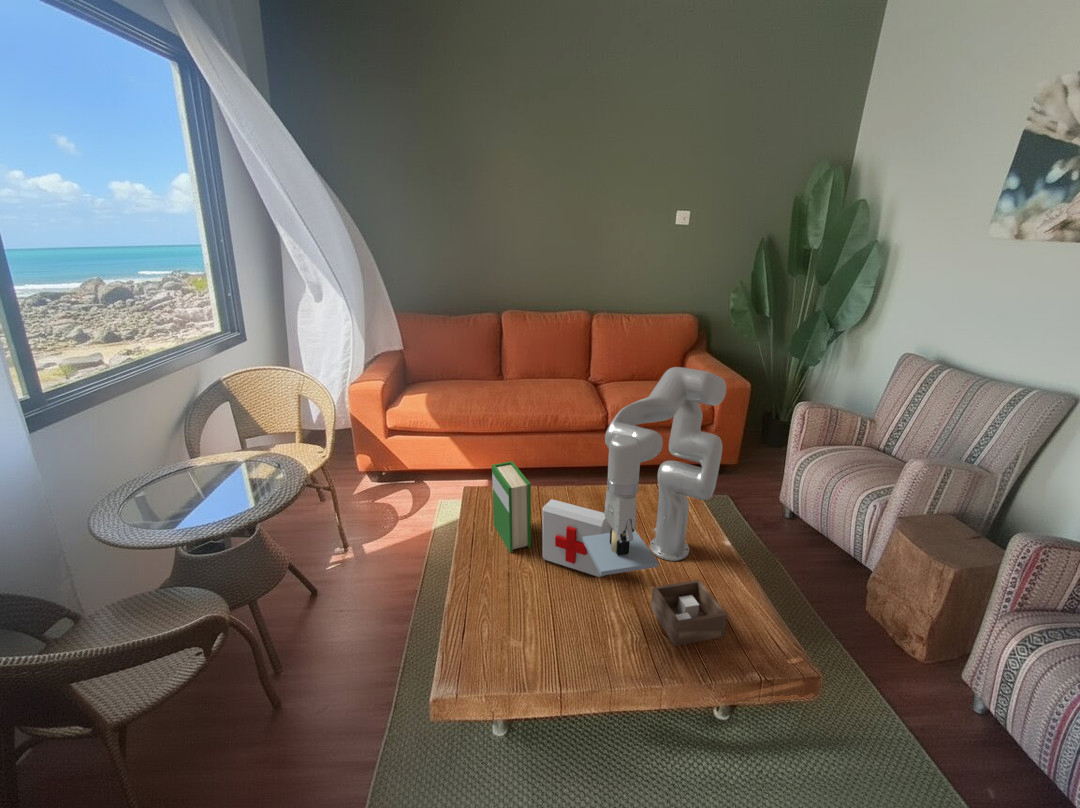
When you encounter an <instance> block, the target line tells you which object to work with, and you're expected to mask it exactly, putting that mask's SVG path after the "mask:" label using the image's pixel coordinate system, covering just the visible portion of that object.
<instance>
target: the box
mask: <svg viewBox="0 0 1080 808" xmlns="http://www.w3.org/2000/svg"><path fill="white" fill-rule="evenodd" d="M651 591H652V592H651V603H650V609H651V611H652V612H653V614H654V615H655V617H656V619H657V620H658V622H659V624H660V625H661V627H662V628H663V630H664V631H665V634H666V635H667V637H668V638H669V640H670V641H671V643H672V645H673V646H674V647H679V646H683V645H688V644H693V643H698V642H704V641H708V640H714V639H719V638H724V637H725V634H726V626H727V620H728V614H727V612H726V611H725V610H724V609H723V607H722V606H721V605H720V603H719V602H718V601H717V599H715V597H714V596H713V595H712V594H711V592H710V591H709V590H708V589H707V587H706V586H705V585H704V584H703V582H702V581H701V580H700V579H694V580H688V581H683V582H677V583H676V582H675V583H670V584H665V585H664V584H663V585H659V586H658V585H657V586H652V590H651ZM688 595H692V596H693V597H694V598H695V600H696V601H697V602H698V604H699V612H698V617H693V618H689V619H684V620H678V619H677V617H676V616H675V615H677V614H681V613H680V612H679V610H678V609H677V608H678V599H679V597H682V596H688Z"/></svg>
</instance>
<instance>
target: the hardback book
mask: <svg viewBox="0 0 1080 808" xmlns="http://www.w3.org/2000/svg"><path fill="white" fill-rule="evenodd" d="M491 474H492V475H491V477H492V479H491V480H492V482H491V483H492V501H493V503H492V505H493V526H494V528H495V530H496V531H497V533H498V535H499V536H501V537H500V538H501V539H502V542H503V541H504V542H503V543H504V545H505V547H506V549H507V548H508V549H507V551H508V552H509V553H510V554H512V553H511V552H514V551H513V550H516V549H517V550H518V549H520V548H525V547H527V549H528V548H529V549H531V548H532V515H531V514H532V504H531V503H532V495H531V493H532V490H531V489H532V488H531V487H532V485H531V482H530V481H529V480H528V478H526V476H525V475H524V473H522V471H521V470H520V469H519V468H518V466H517V465H516V464H515V463H514V461H512V460H511V461H505V462H500V463H499V462H498V463H496V464H495V463H494V464H491Z"/></svg>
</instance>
